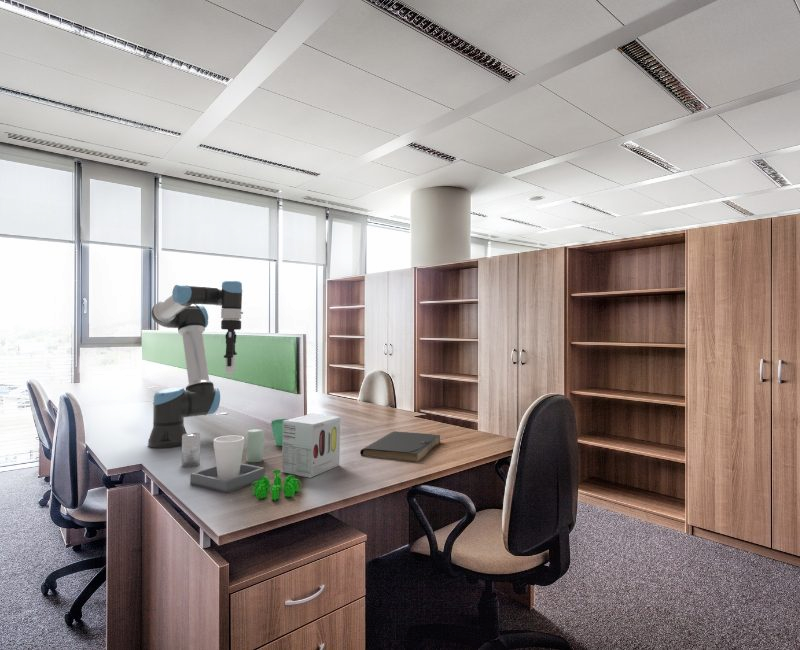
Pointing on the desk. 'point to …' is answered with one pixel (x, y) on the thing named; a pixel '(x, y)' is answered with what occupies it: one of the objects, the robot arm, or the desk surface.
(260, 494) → the green leafy sprig
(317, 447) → the supplement box
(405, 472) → the desk surface
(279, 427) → the mug
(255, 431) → the sage canister
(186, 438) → the steel canister
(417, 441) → the dark grey book
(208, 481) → the tray
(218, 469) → the foam cup
